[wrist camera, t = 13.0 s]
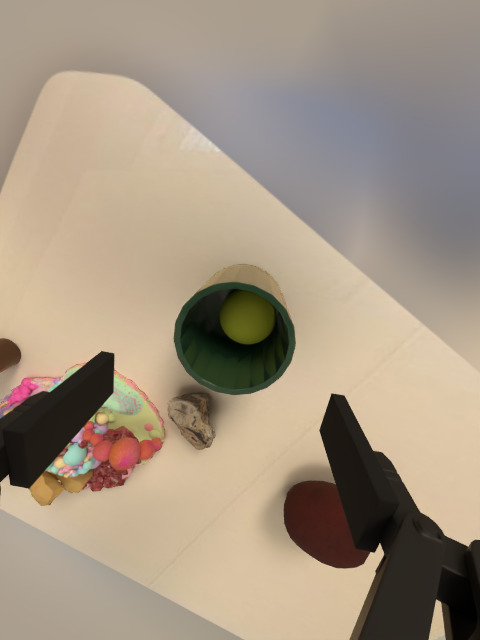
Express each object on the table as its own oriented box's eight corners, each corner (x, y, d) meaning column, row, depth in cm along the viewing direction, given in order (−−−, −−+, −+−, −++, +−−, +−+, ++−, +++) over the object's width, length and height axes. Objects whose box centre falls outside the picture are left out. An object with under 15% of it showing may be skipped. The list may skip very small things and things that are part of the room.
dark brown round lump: (297, 450, 43) (309, 514, 34) (370, 479, 44) (402, 551, 34) (268, 496, 47) (270, 566, 37) (336, 522, 48) (356, 598, 38)
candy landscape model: (105, 502, 50) (73, 560, 41) (-10, 429, 46) (-72, 475, 38) (186, 419, 43) (167, 468, 34) (58, 326, 39) (0, 353, 31)
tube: (208, 257, 35) (180, 271, 22) (291, 272, 35) (308, 295, 22) (198, 334, 38) (169, 383, 26) (273, 348, 38) (280, 404, 26)
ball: (220, 278, 34) (229, 292, 27) (271, 285, 35) (291, 299, 29) (212, 329, 36) (219, 352, 30) (261, 333, 38) (277, 356, 31)
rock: (246, 434, 41) (222, 419, 33) (211, 470, 40) (177, 464, 32) (213, 394, 46) (186, 373, 38) (181, 426, 45) (146, 410, 37)
